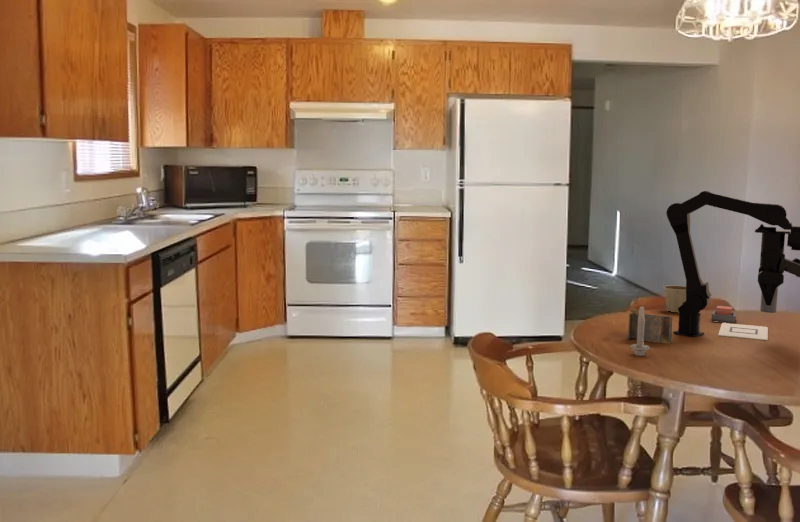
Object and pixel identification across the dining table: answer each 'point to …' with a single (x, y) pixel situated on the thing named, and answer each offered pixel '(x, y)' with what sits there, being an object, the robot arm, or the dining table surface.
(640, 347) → the screw
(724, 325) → the paper sheet
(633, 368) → the dining table surface
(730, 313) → the button
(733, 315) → the button housing
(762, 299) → the grey cylinder
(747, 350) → the dining table surface
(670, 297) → the flower pot
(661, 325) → the bent metal bracket
